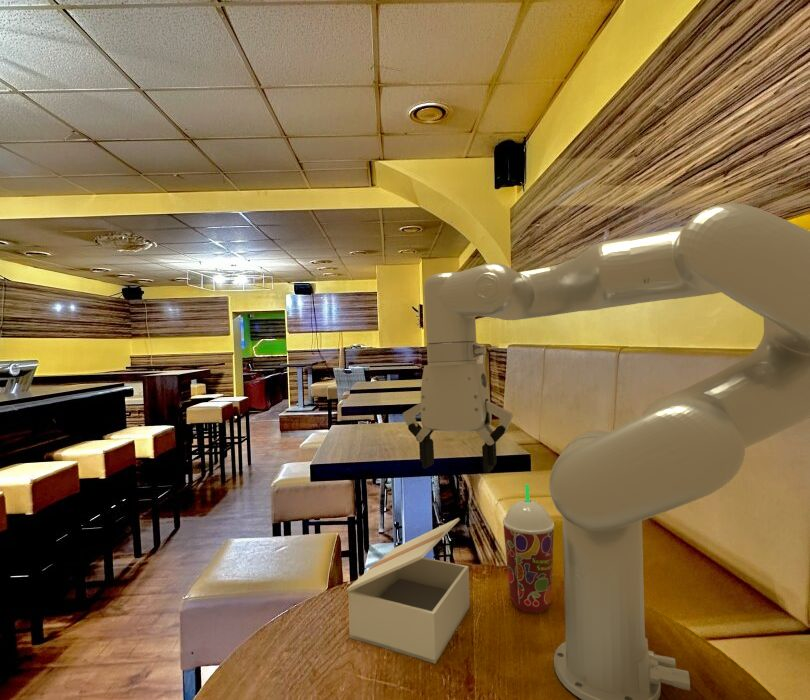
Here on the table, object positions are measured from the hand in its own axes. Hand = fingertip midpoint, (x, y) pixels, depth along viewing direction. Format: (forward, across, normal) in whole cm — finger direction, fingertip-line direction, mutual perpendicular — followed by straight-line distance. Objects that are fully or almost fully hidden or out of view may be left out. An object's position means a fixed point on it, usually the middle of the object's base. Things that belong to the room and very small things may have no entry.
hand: (457, 468), depth 68 cm
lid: (+14, +9, 0) cm, 17 cm away
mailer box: (+25, +9, 0) cm, 26 cm away
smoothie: (+25, -7, -13) cm, 29 cm away
